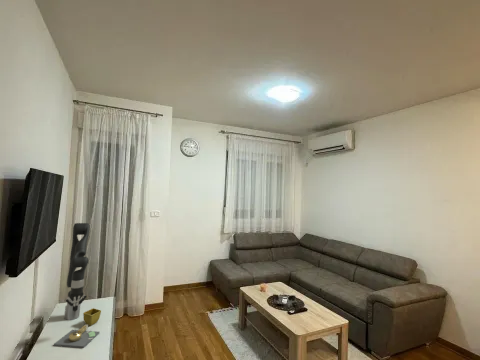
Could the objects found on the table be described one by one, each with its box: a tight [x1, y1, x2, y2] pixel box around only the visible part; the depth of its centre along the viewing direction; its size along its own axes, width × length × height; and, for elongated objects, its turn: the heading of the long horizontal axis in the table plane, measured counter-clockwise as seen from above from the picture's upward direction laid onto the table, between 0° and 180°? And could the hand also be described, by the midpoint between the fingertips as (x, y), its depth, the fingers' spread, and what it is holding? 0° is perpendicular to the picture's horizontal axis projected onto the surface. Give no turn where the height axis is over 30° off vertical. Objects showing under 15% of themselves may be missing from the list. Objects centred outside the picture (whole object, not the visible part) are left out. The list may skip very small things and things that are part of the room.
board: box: [53, 329, 100, 349], centre depth 166 cm, size 21×18×2 cm
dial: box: [69, 323, 89, 342], centre depth 168 cm, size 15×7×4 cm, turn 178°
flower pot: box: [82, 307, 102, 326], centre depth 186 cm, size 9×9×9 cm
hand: (74, 310), depth 171 cm, fingers closed
